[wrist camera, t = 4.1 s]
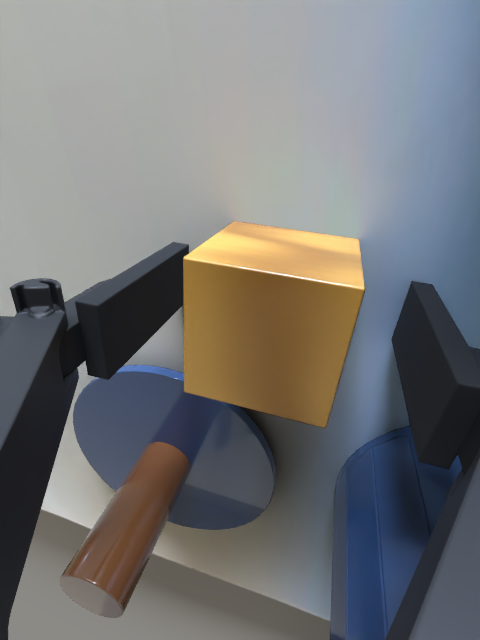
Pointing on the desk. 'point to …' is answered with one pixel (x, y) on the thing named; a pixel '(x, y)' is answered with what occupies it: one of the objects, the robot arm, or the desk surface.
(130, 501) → the lid
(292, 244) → the block
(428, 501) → the blue paneled pot
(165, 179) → the desk surface
